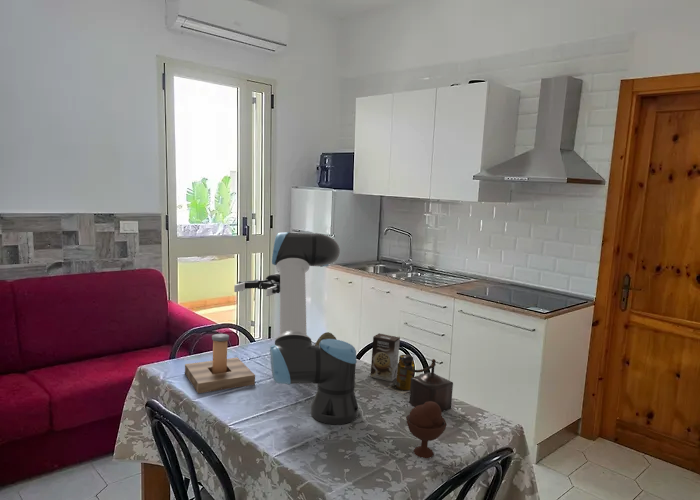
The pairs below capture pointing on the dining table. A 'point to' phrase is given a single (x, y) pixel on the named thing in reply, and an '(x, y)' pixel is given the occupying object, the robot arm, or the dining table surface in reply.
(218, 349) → the peg
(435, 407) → the ice cream bowl
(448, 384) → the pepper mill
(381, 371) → the cookie box
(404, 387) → the condiment
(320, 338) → the decorative egg
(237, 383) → the walnut block
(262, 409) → the dining table surface
